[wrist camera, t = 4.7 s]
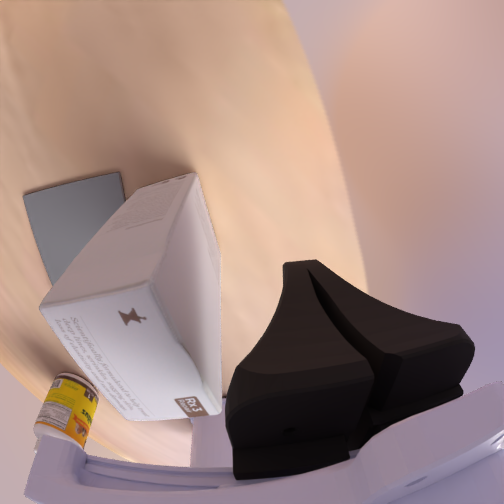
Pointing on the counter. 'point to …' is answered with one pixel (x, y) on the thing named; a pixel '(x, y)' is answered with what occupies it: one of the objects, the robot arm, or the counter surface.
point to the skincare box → (147, 305)
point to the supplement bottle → (67, 410)
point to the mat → (71, 217)
